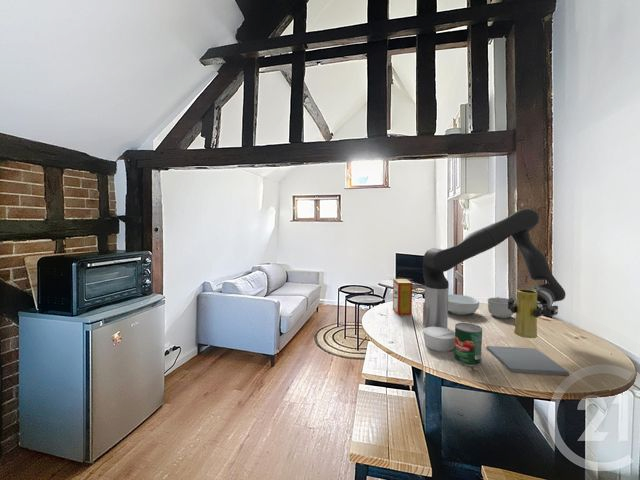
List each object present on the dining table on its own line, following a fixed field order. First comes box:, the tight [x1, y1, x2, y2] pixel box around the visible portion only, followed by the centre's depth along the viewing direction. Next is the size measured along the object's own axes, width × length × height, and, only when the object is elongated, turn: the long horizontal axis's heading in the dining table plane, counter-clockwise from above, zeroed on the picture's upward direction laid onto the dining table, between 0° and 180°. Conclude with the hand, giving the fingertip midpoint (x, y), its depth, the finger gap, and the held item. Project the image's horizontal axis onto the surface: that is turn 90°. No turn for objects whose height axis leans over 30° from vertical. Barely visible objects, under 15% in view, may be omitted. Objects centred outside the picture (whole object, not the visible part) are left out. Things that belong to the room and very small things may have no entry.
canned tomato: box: [453, 322, 483, 367], centre depth 94 cm, size 8×8×11 cm
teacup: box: [486, 296, 514, 319], centre depth 140 cm, size 14×11×8 cm
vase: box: [513, 288, 538, 339], centre depth 93 cm, size 6×6×14 cm
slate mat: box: [486, 345, 570, 376], centre depth 94 cm, size 16×16×1 cm
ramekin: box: [422, 327, 455, 352], centre depth 105 cm, size 11×11×5 cm
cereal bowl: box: [448, 293, 480, 316], centre depth 144 cm, size 17×17×7 cm
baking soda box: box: [392, 278, 413, 316], centre depth 144 cm, size 10×6×16 cm
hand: (524, 312), depth 91 cm, fingers closed on vase, 5 cm apart
